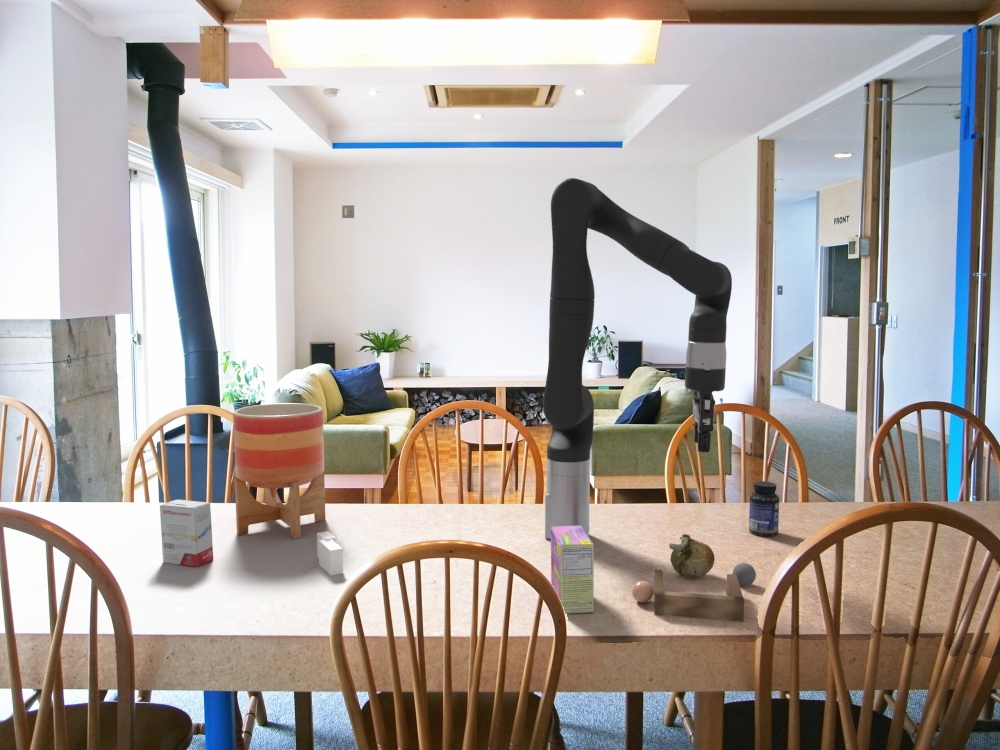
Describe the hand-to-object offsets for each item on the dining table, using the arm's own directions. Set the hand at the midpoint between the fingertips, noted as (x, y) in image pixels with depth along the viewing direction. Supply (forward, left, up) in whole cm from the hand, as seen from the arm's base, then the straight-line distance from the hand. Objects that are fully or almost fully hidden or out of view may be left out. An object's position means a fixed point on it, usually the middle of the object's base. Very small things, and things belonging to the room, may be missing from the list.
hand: (701, 447), depth 150 cm
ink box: (-99, -21, -23) cm, 104 cm away
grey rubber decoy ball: (+7, -14, -22) cm, 27 cm away
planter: (-91, +3, -23) cm, 94 cm away
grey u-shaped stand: (-2, -23, -22) cm, 32 cm away
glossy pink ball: (-11, -25, -22) cm, 35 cm away
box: (-23, -27, -23) cm, 42 cm away
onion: (-2, -11, -23) cm, 25 cm away
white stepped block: (-71, -17, -23) cm, 76 cm away
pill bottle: (+15, +18, -23) cm, 33 cm away
